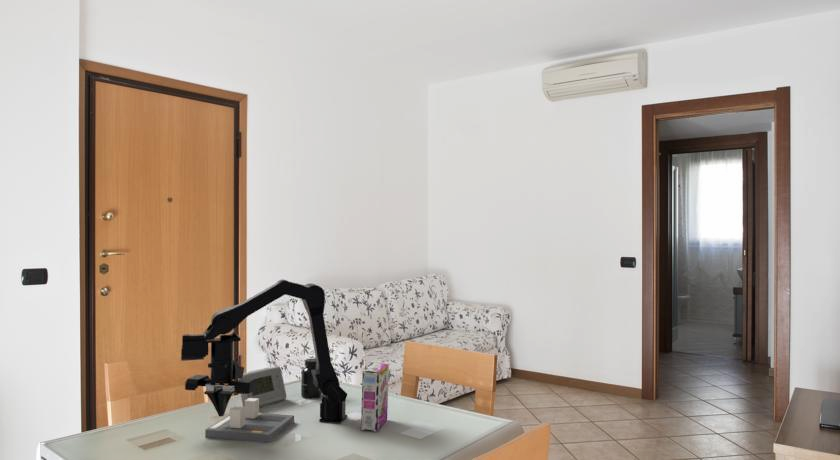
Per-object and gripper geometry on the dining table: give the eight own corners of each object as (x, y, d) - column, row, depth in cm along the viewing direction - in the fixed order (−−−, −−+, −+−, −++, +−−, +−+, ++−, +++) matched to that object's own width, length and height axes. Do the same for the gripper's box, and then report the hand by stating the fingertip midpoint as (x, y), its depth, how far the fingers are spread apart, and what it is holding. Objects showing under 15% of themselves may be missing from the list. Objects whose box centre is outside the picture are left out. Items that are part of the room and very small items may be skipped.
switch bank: (294, 422, 161) (294, 415, 161) (269, 442, 146) (269, 434, 146) (235, 417, 165) (236, 410, 165) (205, 437, 149) (205, 429, 149)
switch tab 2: (258, 415, 161) (259, 398, 161) (254, 418, 158) (254, 401, 158) (249, 414, 161) (249, 397, 161) (244, 417, 158) (244, 400, 158)
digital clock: (243, 412, 170) (244, 377, 170) (231, 405, 177) (231, 371, 177) (292, 402, 181) (292, 369, 181) (278, 396, 187) (279, 364, 187)
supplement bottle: (297, 398, 185) (298, 361, 185) (305, 392, 192) (306, 357, 192) (317, 399, 184) (318, 362, 184) (324, 393, 191) (325, 358, 191)
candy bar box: (378, 432, 154) (378, 372, 154) (360, 431, 155) (361, 371, 155) (388, 419, 165) (389, 363, 165) (372, 418, 166) (372, 362, 166)
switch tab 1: (245, 424, 153) (245, 406, 153) (240, 428, 150) (240, 410, 150) (235, 423, 153) (235, 406, 153) (229, 427, 151) (229, 409, 151)
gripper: (267, 353, 159) (267, 409, 159) (207, 350, 162) (206, 404, 162) (248, 362, 148) (247, 422, 148) (183, 358, 151) (183, 417, 151)
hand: (221, 416), depth 153 cm, fingers closed
